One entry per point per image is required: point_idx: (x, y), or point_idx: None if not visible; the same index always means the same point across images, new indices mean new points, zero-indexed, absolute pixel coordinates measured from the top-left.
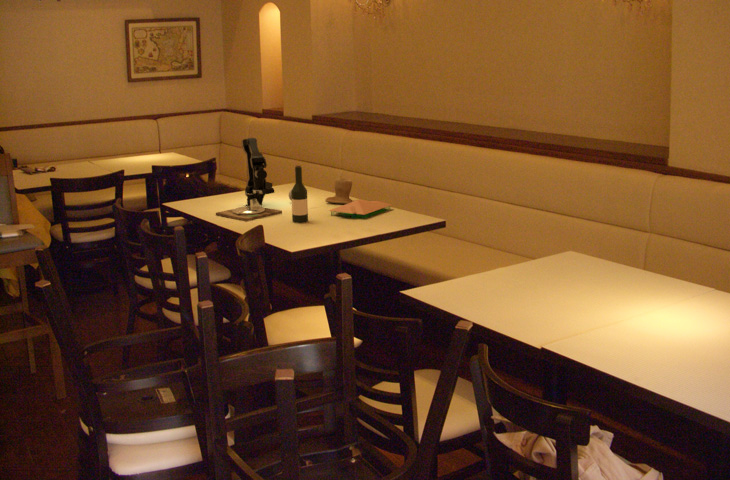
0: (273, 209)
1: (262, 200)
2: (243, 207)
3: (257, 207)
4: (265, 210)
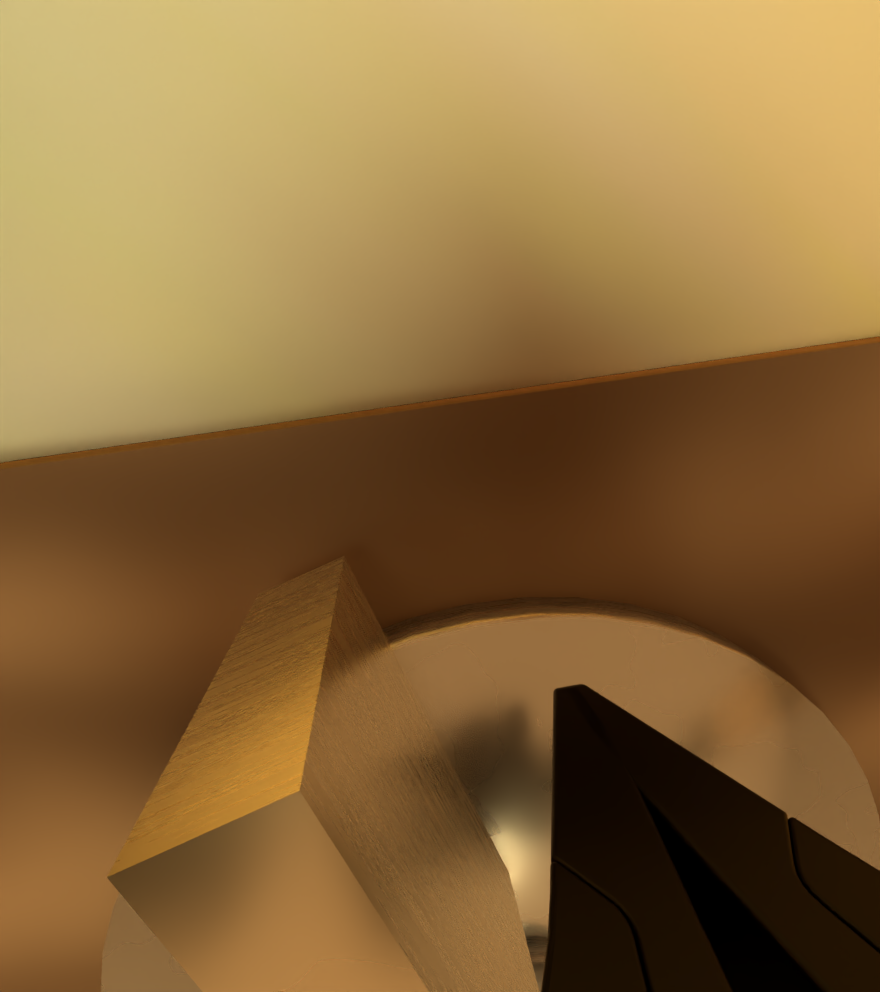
0: (765, 373)
1: (724, 798)
2: (180, 978)
3: (457, 723)
4: (692, 599)
